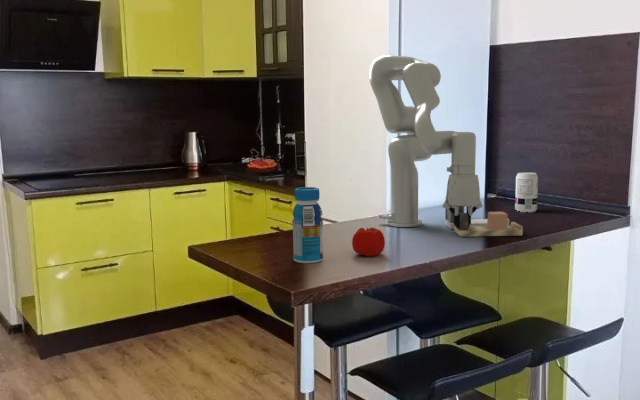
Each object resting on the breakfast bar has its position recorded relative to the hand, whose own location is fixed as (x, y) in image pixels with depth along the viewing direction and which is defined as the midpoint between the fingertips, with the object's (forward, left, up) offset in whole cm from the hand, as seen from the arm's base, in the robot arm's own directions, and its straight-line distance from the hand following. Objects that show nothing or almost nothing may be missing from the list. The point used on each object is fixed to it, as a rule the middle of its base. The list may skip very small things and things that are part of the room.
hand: (462, 226), depth 204 cm
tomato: (-33, -25, -3) cm, 42 cm away
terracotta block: (+12, 0, -1) cm, 12 cm away
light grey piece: (+9, +13, -3) cm, 16 cm away
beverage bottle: (-50, -30, -3) cm, 59 cm away
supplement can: (+37, +43, -3) cm, 56 cm away
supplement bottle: (+5, +28, -3) cm, 29 cm away
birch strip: (+9, 0, -3) cm, 9 cm away
